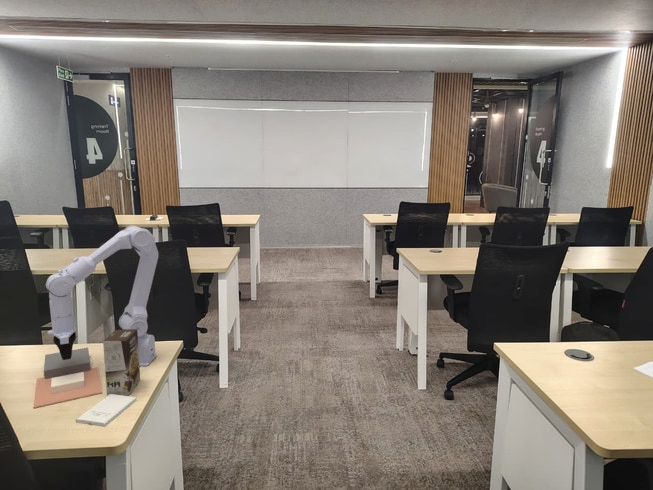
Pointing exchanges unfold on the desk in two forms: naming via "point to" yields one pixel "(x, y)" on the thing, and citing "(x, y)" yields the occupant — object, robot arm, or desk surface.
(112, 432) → the desk surface
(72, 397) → the mat
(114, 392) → the coffee box
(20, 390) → the desk surface
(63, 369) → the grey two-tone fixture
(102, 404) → the external hard drive
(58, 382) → the tile
